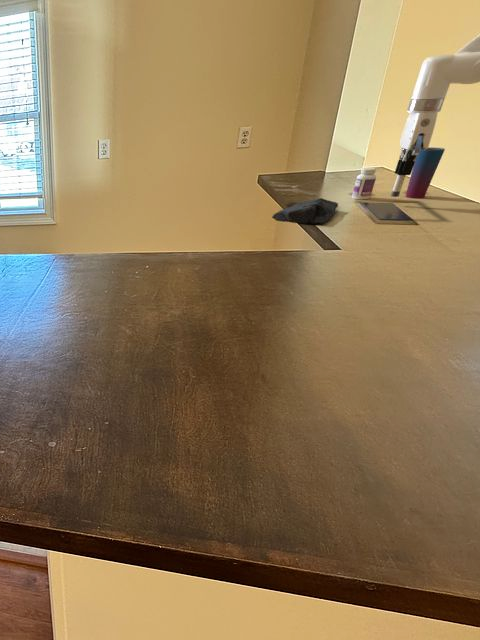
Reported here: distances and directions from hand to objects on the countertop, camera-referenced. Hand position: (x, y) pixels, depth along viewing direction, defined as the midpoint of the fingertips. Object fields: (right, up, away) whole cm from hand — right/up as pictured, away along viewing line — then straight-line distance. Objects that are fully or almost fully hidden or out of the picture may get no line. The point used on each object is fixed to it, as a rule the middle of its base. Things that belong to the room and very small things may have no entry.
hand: (402, 173), depth 145 cm
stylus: (0, -6, +3) cm, 7 cm away
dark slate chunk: (-25, -11, +5) cm, 28 cm away
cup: (+18, -1, +17) cm, 25 cm away
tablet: (-2, -12, 0) cm, 12 cm away
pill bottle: (+2, -1, +20) cm, 20 cm away
